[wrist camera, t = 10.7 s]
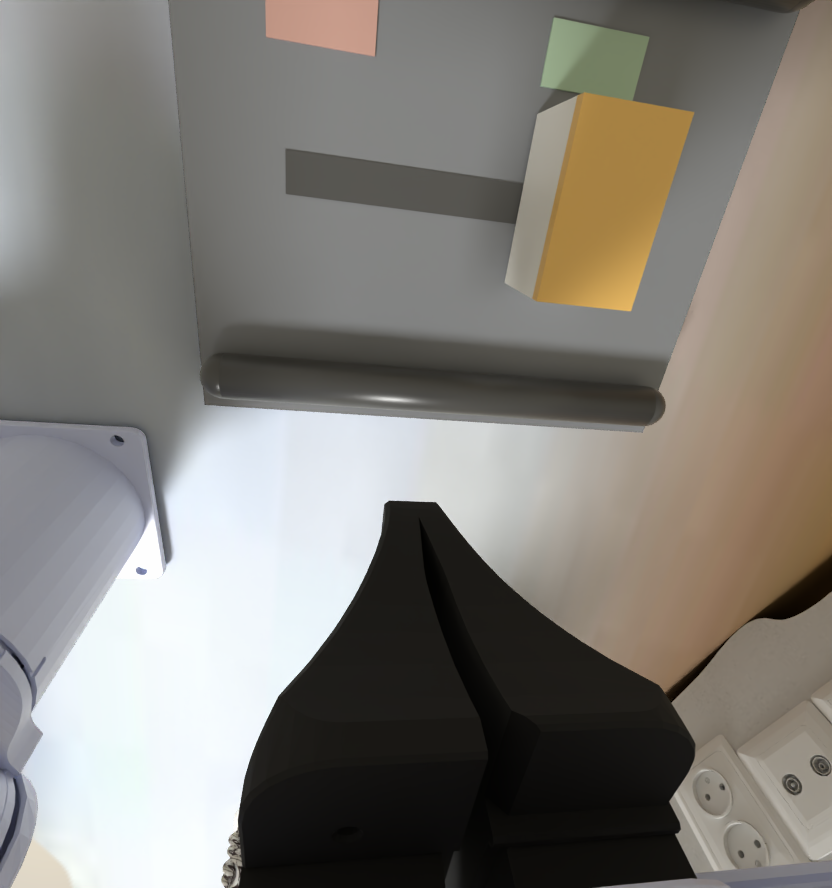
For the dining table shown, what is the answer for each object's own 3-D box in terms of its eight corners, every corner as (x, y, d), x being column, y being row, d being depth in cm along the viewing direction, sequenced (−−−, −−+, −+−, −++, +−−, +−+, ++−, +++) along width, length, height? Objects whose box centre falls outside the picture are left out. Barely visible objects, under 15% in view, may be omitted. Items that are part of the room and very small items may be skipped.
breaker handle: (504, 282, 17) (536, 301, 14) (537, 114, 14) (584, 92, 12) (583, 291, 17) (630, 311, 14) (626, 129, 15) (694, 112, 12)
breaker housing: (218, 386, 19) (191, 422, 16) (175, -193, 12) (112, -328, 9) (619, 413, 22) (663, 450, 19) (776, -45, 15) (889, -111, 12)
